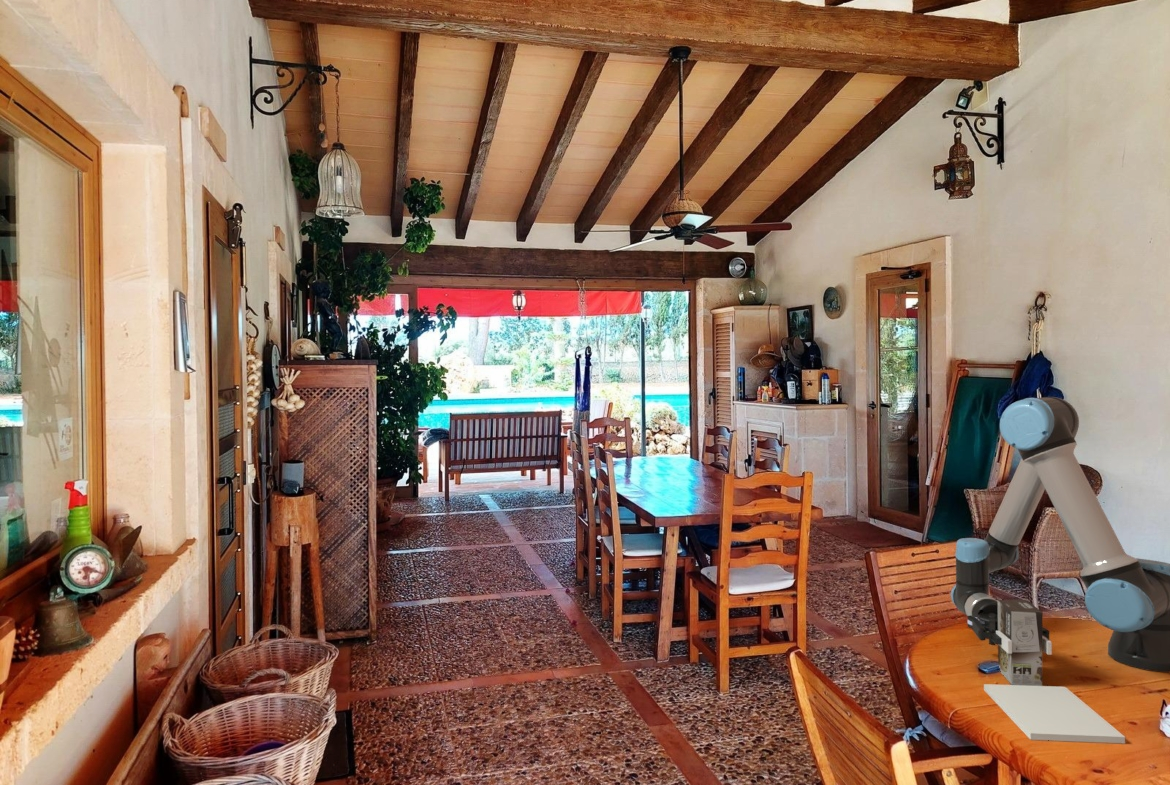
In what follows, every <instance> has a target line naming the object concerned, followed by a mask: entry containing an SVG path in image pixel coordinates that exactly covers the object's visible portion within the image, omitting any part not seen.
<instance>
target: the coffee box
mask: <svg viewBox="0 0 1170 785" xmlns="http://www.w3.org/2000/svg"><path fill="white" fill-rule="evenodd" d="M997 602H998V631H1000V632H1002V633H1003V634H1004V635H1005V636H1006V637H1008V638H1009V639H1010V640H1011V641H1012V654H1008V653H1007V652H1006V651H1005V650H1004V649H1002V648H1001V647H1000V646H999V645H997V648H998V649H997V650H998V651H997V654H998V655H997V657H998V658H997V659H998V660H997V661H998V662H997V665H999V668H1000V671H1001V672H1000V671H999V672H1000V673H1001V675H1002V676H1003V675H1004V676H1003V677H1004V678H1005V679H1006V681H1007V682H1009V685H1025V686H1043V650H1042V627H1043V617H1044V616H1043V611H1042V610H1040V609H1039V608H1038V607H1036V606H1035V605H1034V604H1032V603H1031V602H1030V601H1029V600H1023V599H998V600H997Z"/></svg>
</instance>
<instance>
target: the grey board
mask: <svg viewBox="0 0 1170 785" xmlns="http://www.w3.org/2000/svg"><path fill="white" fill-rule="evenodd" d="M983 690H984V692H985V693H986V694H987V695H988V696H989V697H990V698H991V699H992V701H994V702H995V704H996V705H997V706H998V707H999V708H1000V709H1001V710H1002V711H1003V712H1004V713H1005V714H1006V715H1007V716H1008V717H1009V719H1011V721H1012V722H1014V724H1015V725H1016V726H1017V727H1018V728H1019V729H1020V730H1021V731H1022V732H1023V733H1024V734H1025V736H1026V737H1027V738H1028V739H1029V740H1030V741H1048V740H1049V741H1053V742H1054V741H1055V742H1077V743H1079V742H1080V743H1098V744H1099V743H1101V744H1103V743H1104V744H1108V743H1109V744H1123V745H1124V744H1126V737H1125V735H1123V734H1122V733H1121V732H1120V731H1119V730H1117V729H1116V728H1115V727H1114V726H1113V725H1111V724H1110V723H1109V722H1108V721H1107V720H1106V719H1104V718H1103V717H1102V716H1101V715H1100V714H1098V712H1096V711H1095V710H1093V708H1091V707H1090V706H1089V705H1088V704H1087V703H1085V702H1084V701H1083V700H1081V698H1079V697H1078V696H1077V695H1076V694H1074V693H1073V692H1072V691H1071V690H1069V688H1067V687H1066V686H1055V685H1054V686H1051V685H1048V686H1047V685H1042V686H1025V685H1011V684H986V683H985V684H984V683H983Z"/></svg>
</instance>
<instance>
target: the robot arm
mask: <svg viewBox="0 0 1170 785" xmlns="http://www.w3.org/2000/svg"><path fill="white" fill-rule="evenodd" d="M1079 426H1080V417H1079V415H1078V412H1077V410H1076V408H1075V407H1074V406H1073V405H1072V404H1070V402H1068V401H1066V400H1064V399H1063V398H1061V397H1060V398H1059V397H1056V396H1043V397H1026V398H1023V399H1020V400H1017V401H1015V402H1013V403H1011V404H1009V405H1008V406H1007V407H1006V408H1005V410H1004V411H1003V412H1002V414H1001V416H1000V419H999V432H1000V434H1001V436H1002V438H1003V440H1004V441H1005V442H1006V443H1007V444H1008V445H1009V446H1011V447H1012V448H1013V449H1016V450H1017V451H1018V454H1019V455H1020V457H1021V459H1020V460H1019V464H1018V466H1017V467H1016V469H1015V471H1014V473H1013V477H1012V478H1011V481H1010V483H1009V485H1008V487H1007V490H1006V492H1005V494H1004V497H1003V498H1002V501H1001V503H1000V505H999V508H998V510H997V512H996V514H995V517H994V518H993V520H992V522H991V525H990V527H989V530H988V532H987V535H986V537H985V538H984V539H981V538H975V537H965V538H964V537H963V538H959V539H958V540H956V543H955V544H956V546H955V547H956V548H955V553H954V556H955V585H953V587H952V588H951V591H950V598H951V602H952V603H953V605H954V606H955V607H956V608H957V610H958V611H960V613H963V615H965V616H967V628H970V629H971V630H972V631H973V633H974V634H975V636H976V637H977V639H979V640H980V641H986V640H988V644H989V645H990V646H995V645H997V646H998V645H999V646H1000V647H1001V648H1002V649H1004V650H1005V651H1006V652H1007V653H1008V654H1012V641H1011V640H1010V639H1009V638H1008V637H1006V636H1005V635H1004V634H1003V633H1002V632H1000V631H998V600H997V599H995V598H994V597H992V596H990V574H991V573H992V572H997V571H999V570H1002V569H1006V568H1009V567H1011V566H1012V565H1013V564H1015V563H1016V562H1017V561H1018V559H1019V556H1020V554H1019V553H1020V552H1019V545H1020V543H1021V540H1022V539H1023V537H1024V534H1025V532H1026V530H1027V528H1028V526H1029V524H1030V521H1031V520H1032V519H1033V518H1032V517H1033V515H1034V513H1035V511H1036V510H1037V507H1038V504H1039V502H1040V500H1041V498H1042V497H1043V494H1044V492H1046V493H1047V495H1048V497H1049V500H1050V501H1051V504H1052V505H1053V507H1054V509H1055V512H1057V515H1058V517H1059V519H1060V521H1061V523H1062V526H1063V527H1064V529H1065V532H1066V533H1067V535H1068V538H1069V539H1070V542H1071V543H1072V545H1073V547H1074V550H1075V551H1076V553H1077V555H1078V558H1079V559H1080V562H1081V564H1082V569H1081V572H1080V574H1079V576H1080V578H1081V580H1082V582H1083V584H1084V586H1085V588H1086V592H1085V595H1084V603H1085V606H1086V609H1087V611H1088V613H1089V614H1090V616H1091V618H1093V620H1094V621H1096V622H1097V623H1098V624H1100V625H1101V626H1103V627H1105V628H1108V629H1109V630H1112V634H1111V635H1110V638H1109V641H1108V642H1107V643H1108V644H1107V654H1108V656H1109V657H1110V658H1111V659H1113V660H1115V661H1116V662H1118V663H1121V664H1124V665H1126V666H1129V667H1133V668H1136V669H1141V670H1146V671H1152V672H1158V673H1159V672H1162V673H1163V672H1164V673H1170V563H1169V562H1165V561H1164V562H1163V561H1159V560H1158V561H1157V560H1151V559H1146V558H1136V557H1133V556H1131V555H1129V554H1127V553H1126V552H1125V549H1124V548H1123V546H1122V543H1121V542H1120V540H1119V538H1118V536H1117V535H1116V532H1115V530H1114V529H1113V526H1112V524H1111V523H1110V521H1109V519H1108V516H1107V515H1106V513H1105V511H1104V509H1103V508H1102V505H1101V504H1100V502H1099V500H1098V498H1097V496H1096V494H1095V492H1094V490H1093V488H1092V486H1091V484H1090V483H1089V480H1088V478H1087V477H1086V475H1085V473H1084V470H1083V468H1082V467H1081V466H1080V462H1078V459H1077V458H1076V455H1075V453H1074V451H1075V449H1076V447H1077V446H1078V445H1077V444H1078V443H1077V441H1076V439H1075V438H1076V436H1077V433H1078V430H1079V428H1080V427H1079ZM1052 646H1053V645H1052V641H1051V639H1050V630H1049V629H1047V628H1045V627H1043V626H1042V652H1044V653H1045V654H1047V655H1048V656H1049V655H1052V650H1053V648H1052Z"/></svg>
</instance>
